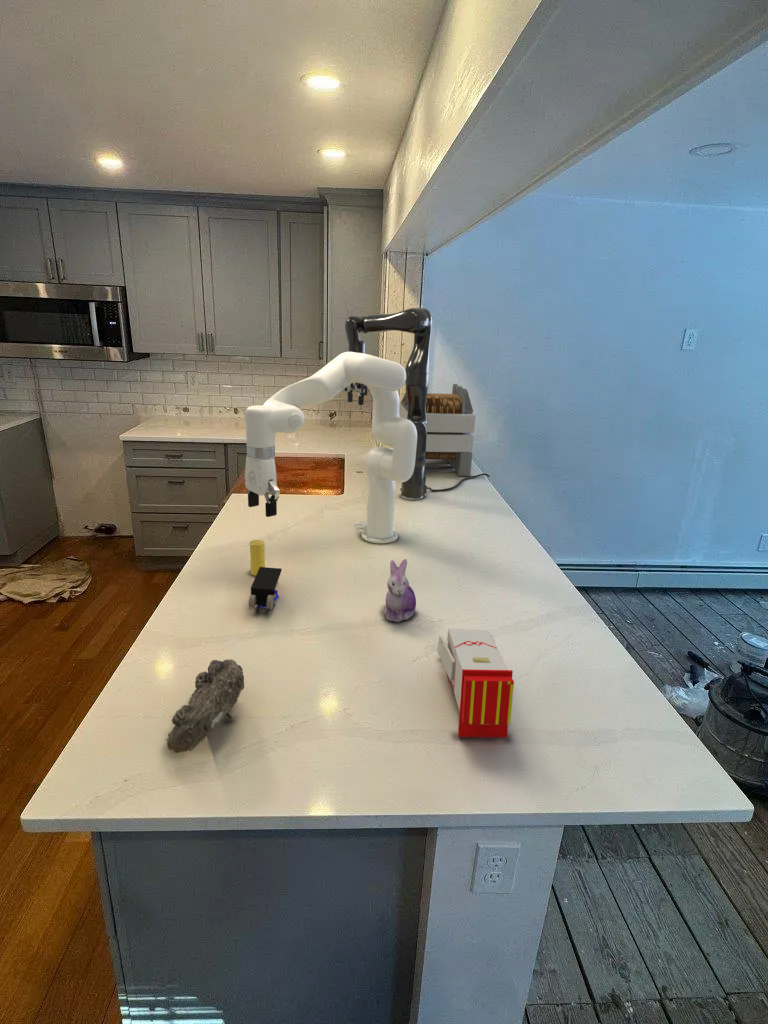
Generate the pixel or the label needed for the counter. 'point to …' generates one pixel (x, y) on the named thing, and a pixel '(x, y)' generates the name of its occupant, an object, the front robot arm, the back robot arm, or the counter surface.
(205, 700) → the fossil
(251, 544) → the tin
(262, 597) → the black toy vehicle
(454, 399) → the transformer
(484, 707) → the toy
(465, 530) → the counter surface
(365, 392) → the back robot arm
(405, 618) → the figurine
